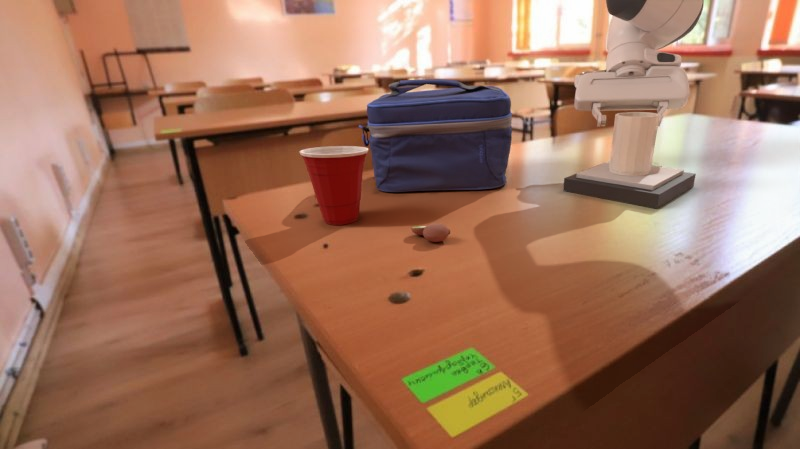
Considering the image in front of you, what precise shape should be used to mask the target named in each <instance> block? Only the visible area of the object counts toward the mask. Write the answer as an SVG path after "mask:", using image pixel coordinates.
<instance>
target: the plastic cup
mask: <svg viewBox="0 0 800 449" xmlns="http://www.w3.org/2000/svg"><path fill="white" fill-rule="evenodd" d="M369 149H370V147H369V148H368V147H366V146H358V145H357V146H355V145H331V146H318V147H310V148H305V149H301V150H299V154H300V156H301V157H302V159H303V161H304V164H305V167H306V170H307V172H308V175H309V179H310V182H311V185H312V189H313V193H314V196H315V198H316V202H317V204H318V206H319V210H320V213H321V217H322V219H323V221H324V223H325V224H327V225H330V226H343V225H348V224H353V223H355V222H357V220H359V216H360V205H361V200H362V199H361V197H362V186H363V174H364V167H365V160H366V156H367V154H368V153H369Z"/></svg>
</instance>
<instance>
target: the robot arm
mask: <svg viewBox="0 0 800 449" xmlns="http://www.w3.org/2000/svg"><path fill="white" fill-rule="evenodd" d="M605 4H606V9H607V13H608V14H609V15H611V19H610V22H609V24H608V29H607V36H606V49H607V52H608V53H607V55H606V59H605V69H597V70H583V71H582V72H579V73H578V74H575V76H574V79H573V85H574V87H575V94H574V101H573V102H574V103H573V108H574V109H575V110H576V111H578V112H591V115H592V117H594V119H595V120H596V122H597V123H596V127H597V128H598V127H599V128H603V127H606V125H607V114H602V111H603V112H605V111H611V112H612V111H656V113H657V114H659V121H658V127H660V126H661V124H662V118H663V117H664V115H665V114H666V113H667V111H669V110H671V111H672V110H673V111H674V110H682V109H683V108H684V107H685V106H686V105H687V103H688V101H689V99H690V97H691V96H690V95H691V89H690V81H689V77H688V74H687V72H686V70H685V69H684V68H683V67H682V66H681V65H682V60H683V59H682V56H681V55H680V54H676V53H670V52H666V51H660V50H661V49H664V48H665V47H668V46H670V45H672V44H673V43H676V42H678V41H680V40H681V39H683V38H684V37H686V36H687V35H688V34H690V33H691V32H692V31H693V30H694V28H696V26H697V25H698V23H699V21H700V18H701V16H702V14H703V10H704V4H705V2H704V0H605Z"/></svg>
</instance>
